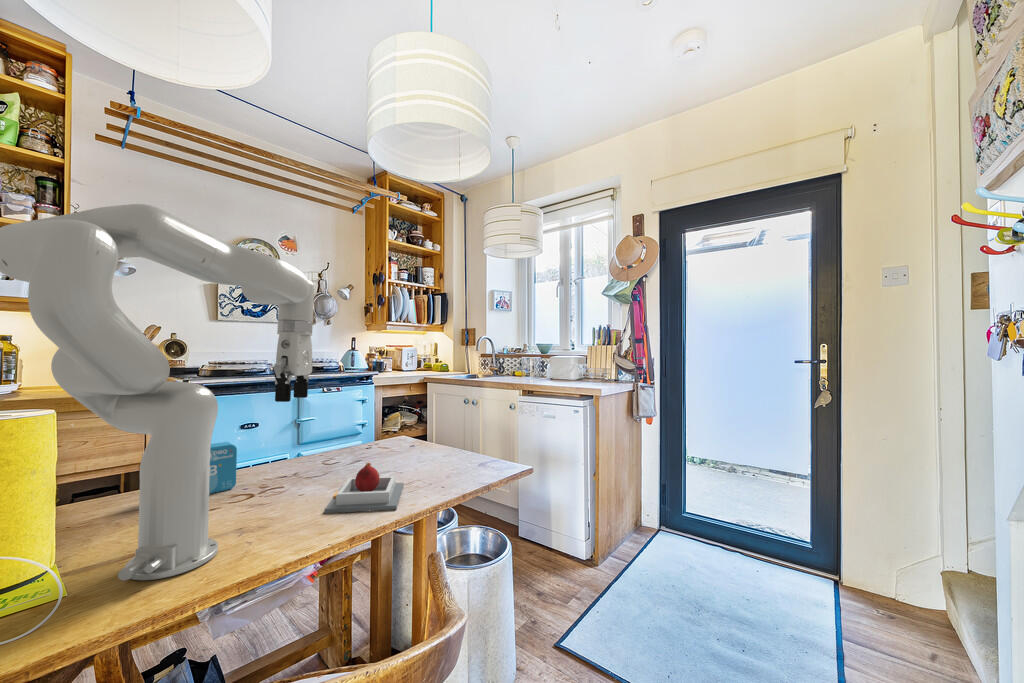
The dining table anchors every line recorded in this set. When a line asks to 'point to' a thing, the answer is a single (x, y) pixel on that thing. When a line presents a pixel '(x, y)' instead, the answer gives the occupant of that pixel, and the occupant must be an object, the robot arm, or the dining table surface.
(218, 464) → the data package
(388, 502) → the tray
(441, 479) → the dining table surface
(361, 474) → the onion
